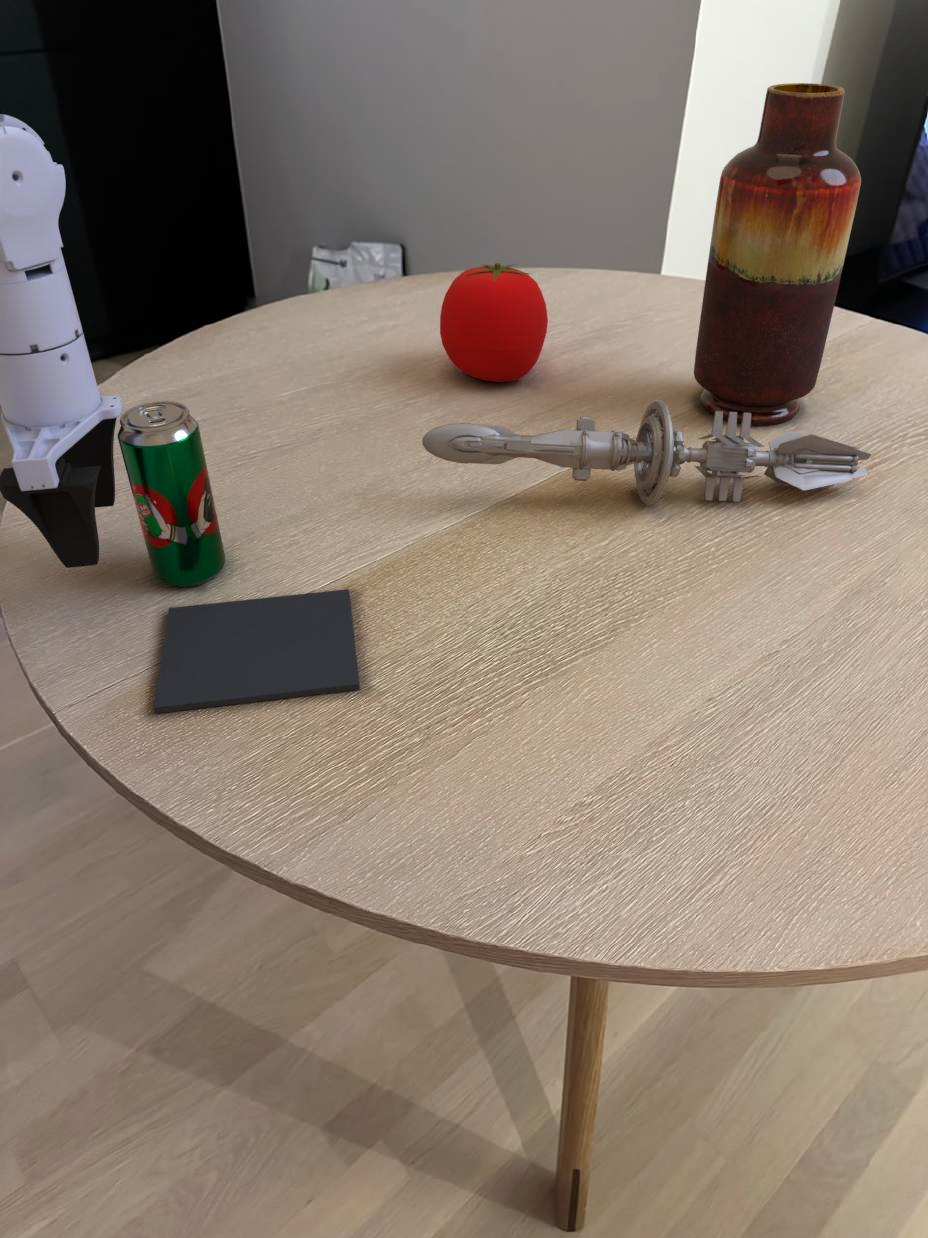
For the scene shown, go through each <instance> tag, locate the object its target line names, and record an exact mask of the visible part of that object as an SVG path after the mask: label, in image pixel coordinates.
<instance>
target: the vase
mask: <svg viewBox="0 0 928 1238" xmlns="http://www.w3.org/2000/svg"><path fill="white" fill-rule="evenodd" d="M845 93H846V90H845V88H843V87H842V86H838V85H832V84H823V83H811V82H810V83H808V82H794V83H793V82H792V83H778V84H774V85H769V86H768V87H767V88H766V93H765V98H764V103H763V109H762V114H761V121H760V127H759V133H758V137H757V140H756V142H755V144H754V145H752V146H749V147H747V148H745V149H743V150H742V151H740V152H737V154H735V155H734V156H733V157H732V158H731V159H730V160H729V161H728V162H727V163H726V164H725V166H724V167H723V169H722V171H721V174H720V177H719V184H718V191H717V194H716V195H717V197H716V201H715V209H714V217H713V224H712V230H711V237H710V238H711V239H710V244H709V252H708V258H707V267H706V275H705V281H704V287H703V296H702V302H701V310H700V316H699V317H700V318H699V325H698V332H697V333H698V334H697V340H696V348H695V355H694V356H695V357H694V367H693V376H694V379H695V381H696V383H698V385H699V386H700V387H701V388H703V389H704V390H703V391H702V392H701V395H700V397H699V404H700V406H701V408H702V409H703V410H704V411H705V412H706V413H708V414H709V415H711V416H713V417H714V416H715V411H723V421H725V422H728V417H729V412H737V424H739V425H741V424H742V419H743V413H751V426H774V425H780V424H783V423H786V422H789V421H791V420H792V419H794V418H795V417H796V416H797V415H798V414H799V411H800V401H799V399H802V398H803V397H805V396H807V395H809V394H810V393H811V392H812V391H813V390H814V388H815V387H816V383H817V380H818V376H819V372H820V369H821V365H822V362H823V356H824V351H825V348H826V343H827V339H828V334H829V330H830V325H831V322H832V317H833V312H834V309H835V305H836V300H837V295H838V291H839V286H840V282H841V277H842V273H843V268H844V264H845V259H846V255H847V251H848V246H849V241H850V237H851V232H852V228H853V224H854V219H855V213H856V210H857V205H858V201H859V200H858V199H859V195H860V189H861V186H862V176H861V172H860V170H859V168H858V166H857V164H856V163H855V161H854V160H853V159H852V157H850V156H849V155H848V154H846V153H845V152H844V151H842V150H840V149H839V148H838V147H837V137H838V133H839V132H838V131H839V126H840V121H841V117H842V116H841V115H842V111H843V110H842V109H843V104H844V100H845Z"/></svg>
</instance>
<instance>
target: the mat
mask: <svg viewBox="0 0 928 1238" xmlns="http://www.w3.org/2000/svg"><path fill="white" fill-rule="evenodd" d="M165 625H166V626H165V632H164V638H163V644H162V652H161V656H160V658H161V659H160V663H159V670H158V676H157V683H156V689H155V695H154V701H153V711H154V713H155V714H162V713H164V714H165V713H173V712H180V711H188V710H197V709H206V708H214V707H223V706H230V705H238V704H239V705H240V704H248V703H257V702H265V701H274V700H283V699H291V698H298V697H307V696H308V697H309V696H315V695H316V696H317V695H324V694H334V693H342V692H343V693H344V692H351V691H359V690H360V689H361V687H360V686H361V685H360V677H359V668H358V659H357V658H358V657H357V651H356V649H357V648H356V640H355V633H354V632H355V631H354V624H353V613H352V605H351V595H350V589H348V588H347V589H337V590H329V591H319V592H318V591H317V592H309V593H300V594H299V593H298V594H289V595H280V596H279V595H278V596H271V597H263V598H252V599H241V600H232V601H223V602H213V603H205V604H194V605H186V606H185V605H184V606H174V607H169V608H168V611H167V619H166V623H165Z"/></svg>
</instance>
